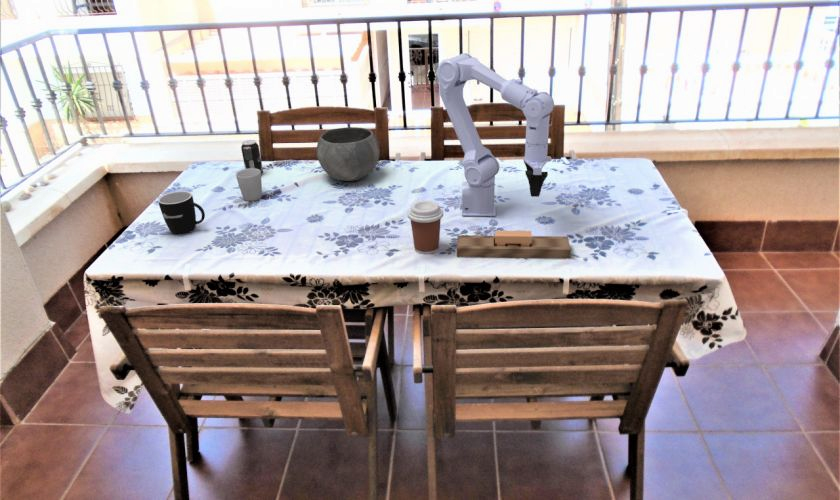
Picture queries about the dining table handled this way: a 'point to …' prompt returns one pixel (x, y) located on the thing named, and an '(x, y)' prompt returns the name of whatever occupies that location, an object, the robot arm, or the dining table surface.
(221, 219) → the dining table surface
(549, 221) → the dining table surface
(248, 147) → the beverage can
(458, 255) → the rail
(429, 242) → the coffee cup
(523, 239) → the clip
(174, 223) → the mug
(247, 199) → the cup
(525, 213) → the dining table surface
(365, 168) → the bowl
